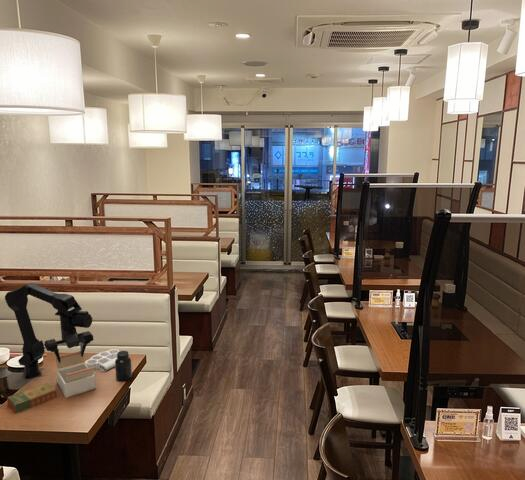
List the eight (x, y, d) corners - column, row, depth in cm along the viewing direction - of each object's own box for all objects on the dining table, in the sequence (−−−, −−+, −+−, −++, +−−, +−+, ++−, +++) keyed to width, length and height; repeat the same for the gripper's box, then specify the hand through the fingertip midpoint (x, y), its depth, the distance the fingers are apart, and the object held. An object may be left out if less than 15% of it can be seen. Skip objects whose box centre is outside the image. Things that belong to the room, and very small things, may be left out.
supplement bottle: (112, 380, 206) (110, 354, 204) (122, 373, 212) (121, 348, 210) (125, 383, 204) (123, 357, 201) (135, 376, 210) (133, 351, 207)
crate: (57, 383, 203) (56, 370, 202) (85, 375, 210) (84, 363, 209) (65, 397, 192) (64, 384, 191) (95, 388, 199) (94, 375, 198)
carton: (57, 398, 192) (56, 388, 191) (15, 414, 181) (14, 404, 180) (48, 390, 198) (47, 381, 197) (7, 406, 186) (6, 396, 185)
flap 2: (66, 373, 188) (66, 375, 188) (94, 366, 194) (94, 367, 194) (65, 381, 191) (65, 382, 191) (93, 373, 198) (93, 374, 197)
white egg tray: (100, 375, 211) (78, 367, 218) (130, 360, 226) (110, 353, 233) (99, 368, 210) (78, 360, 218) (130, 353, 225) (109, 346, 233)
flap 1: (83, 351, 207) (82, 350, 207) (56, 357, 200) (56, 357, 201) (83, 362, 208) (83, 361, 208) (57, 368, 201) (57, 368, 202)
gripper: (48, 336, 188) (52, 372, 191) (96, 326, 199) (98, 360, 202) (42, 327, 197) (46, 362, 200) (88, 318, 208) (90, 351, 211)
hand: (71, 359), depth 203 cm, fingers open, 9 cm apart
